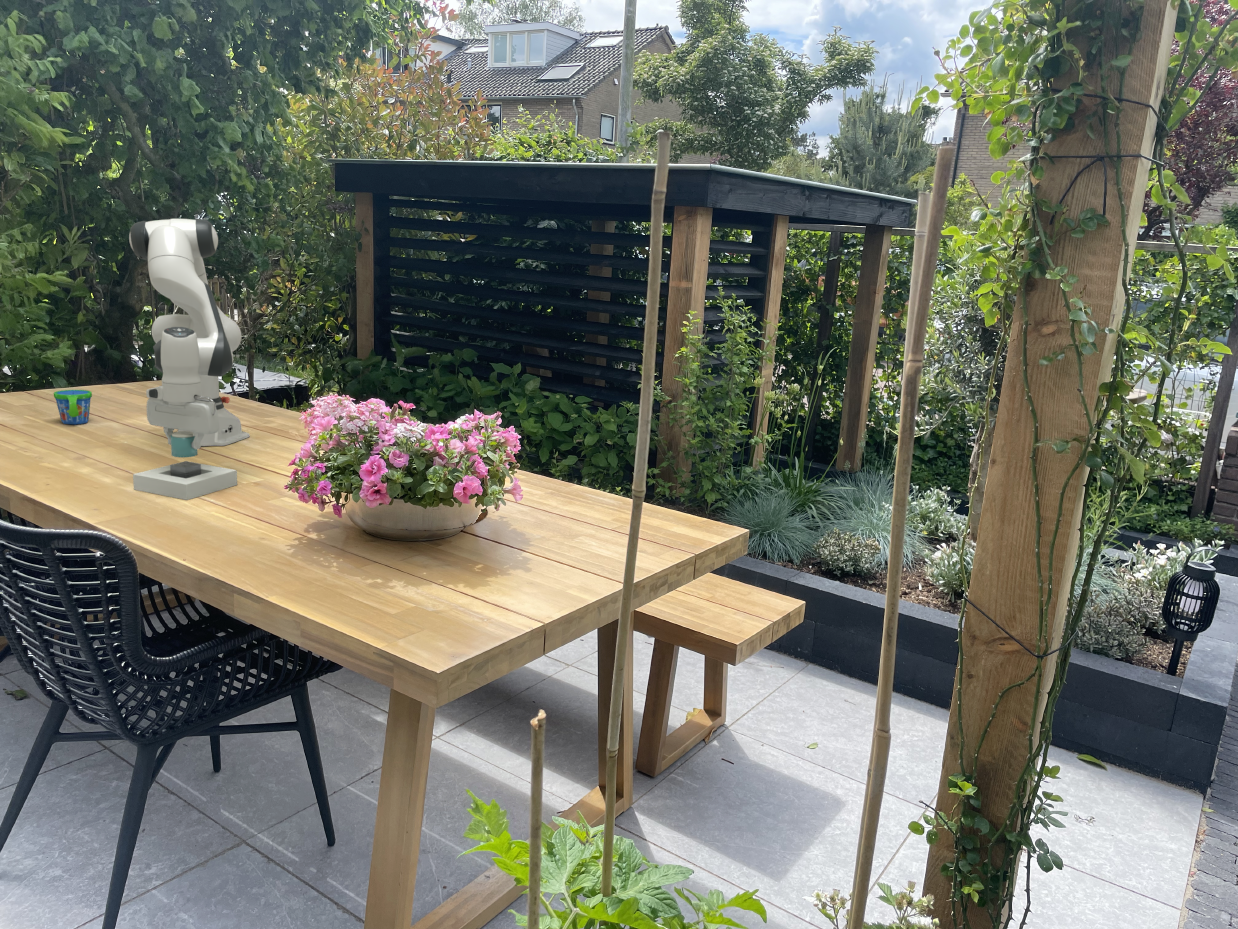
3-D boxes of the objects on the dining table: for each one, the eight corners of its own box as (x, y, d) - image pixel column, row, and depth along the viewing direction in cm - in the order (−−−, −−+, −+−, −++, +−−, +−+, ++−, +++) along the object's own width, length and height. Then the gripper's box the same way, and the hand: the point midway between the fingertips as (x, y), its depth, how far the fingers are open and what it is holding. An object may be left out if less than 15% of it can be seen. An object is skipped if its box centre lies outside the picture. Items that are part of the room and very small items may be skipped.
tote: (186, 475, 239) (186, 460, 238) (237, 484, 234) (236, 470, 233) (133, 489, 224) (132, 474, 223) (186, 500, 218) (186, 484, 217)
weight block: (186, 479, 232) (185, 461, 231) (201, 482, 230) (200, 464, 229) (171, 484, 227) (170, 465, 226) (186, 487, 226) (185, 468, 224)
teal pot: (184, 450, 230) (183, 429, 229) (202, 454, 228) (202, 432, 227) (166, 455, 225) (164, 433, 224) (184, 458, 223) (183, 436, 222)
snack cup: (60, 418, 293) (57, 387, 291) (96, 417, 298) (94, 387, 295) (52, 428, 280) (49, 396, 277) (90, 427, 284) (88, 396, 281)
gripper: (224, 396, 223) (226, 449, 226) (161, 386, 229) (163, 439, 232) (205, 399, 217) (207, 454, 220) (140, 389, 223) (143, 443, 226)
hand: (184, 446), depth 226 cm, fingers closed on teal pot, 6 cm apart
